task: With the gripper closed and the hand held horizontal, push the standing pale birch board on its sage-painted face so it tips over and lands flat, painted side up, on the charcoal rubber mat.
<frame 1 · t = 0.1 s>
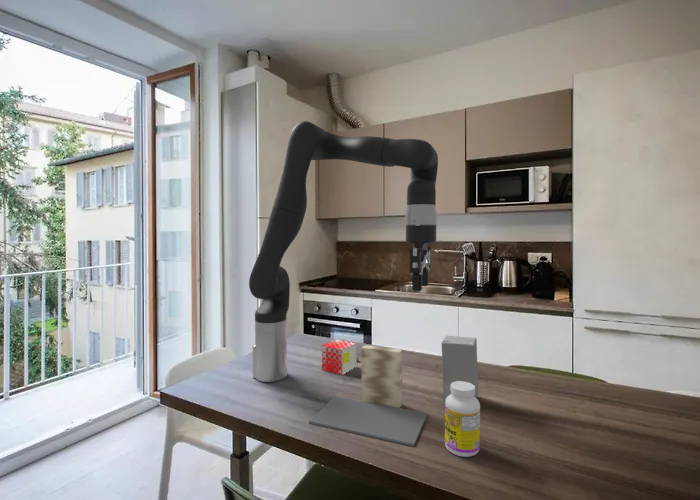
hand: (420, 288, 94), 29 cm above the table, tool pointing down, fingers open, 8 cm apart
skincare box: (459, 399, 97), on the table
shard: (348, 358, 131), on the table
board: (381, 403, 95), on the table
mat: (369, 419, 86), on the table
supplement bottle: (461, 449, 75), on the table
red white patterned cube: (339, 369, 119), on the table
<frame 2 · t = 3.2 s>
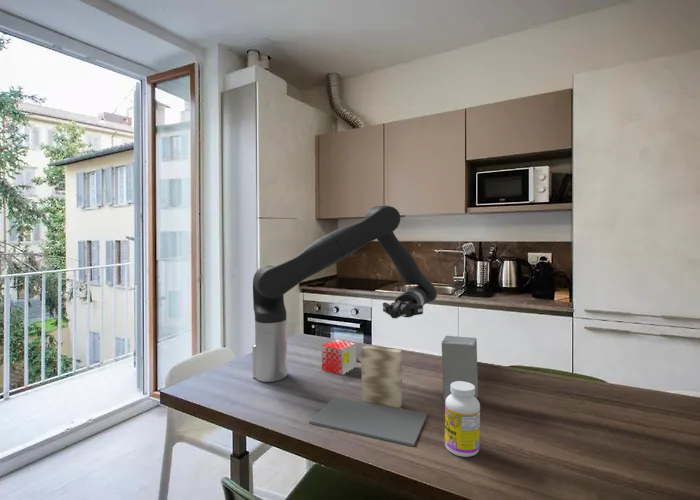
hand: (394, 314, 104), 20 cm above the table, tool horizontal, fingers closed
nothing on the table moved.
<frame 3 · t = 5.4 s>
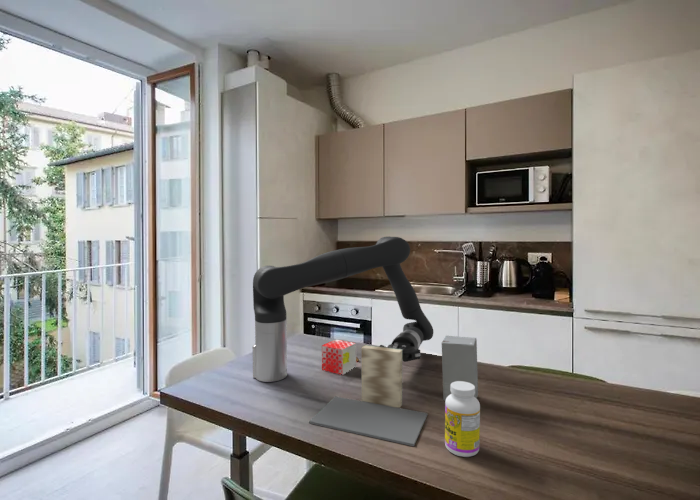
hand: (391, 361, 102), 8 cm above the table, tool horizontal, fingers closed
nothing on the table moved.
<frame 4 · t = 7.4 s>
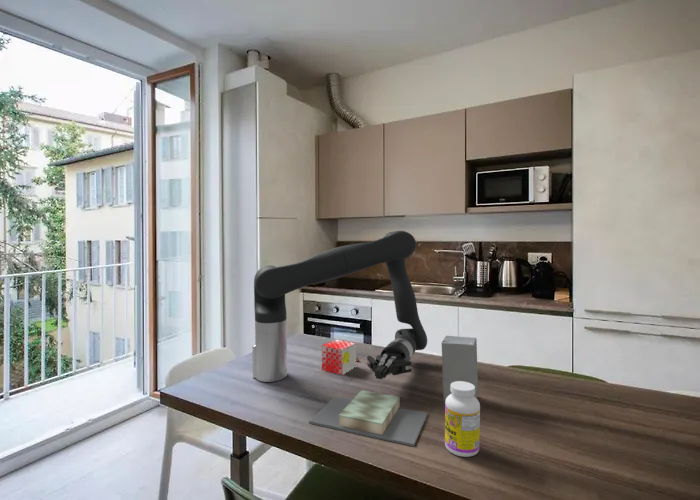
hand: (378, 375, 92), 8 cm above the table, tool horizontal, fingers closed
board: (380, 398, 94), point 2 cm above the table, tilted 90°, touching mat
everything else where it was.
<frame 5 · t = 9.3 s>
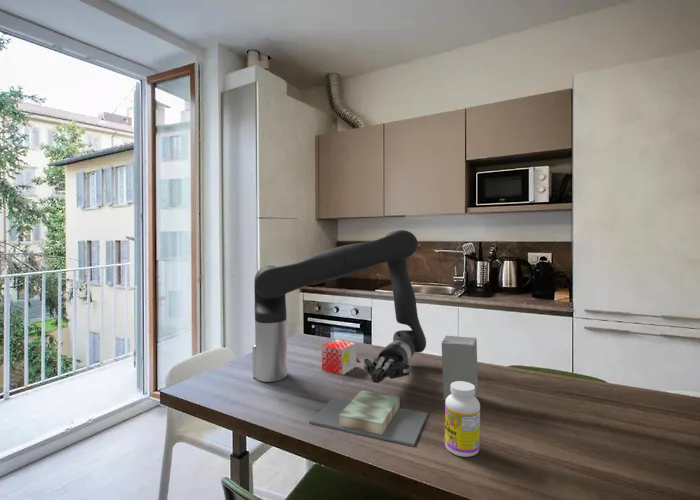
hand: (375, 378, 90), 8 cm above the table, tool horizontal, fingers closed
nothing on the table moved.
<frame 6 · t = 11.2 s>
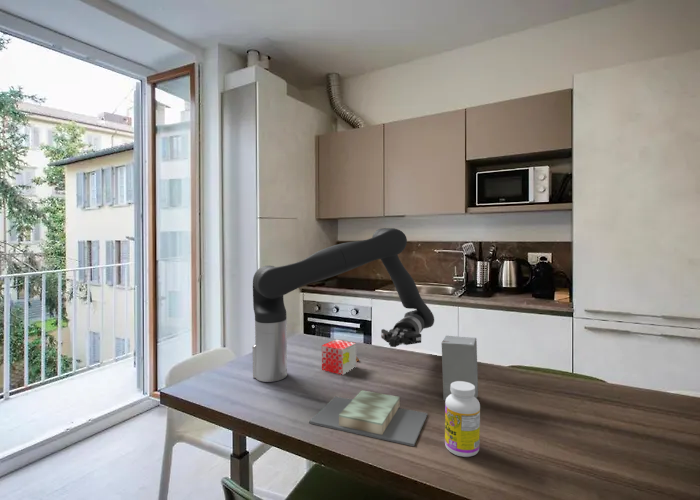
hand: (392, 343, 104), 12 cm above the table, tool horizontal, fingers closed
nothing on the table moved.
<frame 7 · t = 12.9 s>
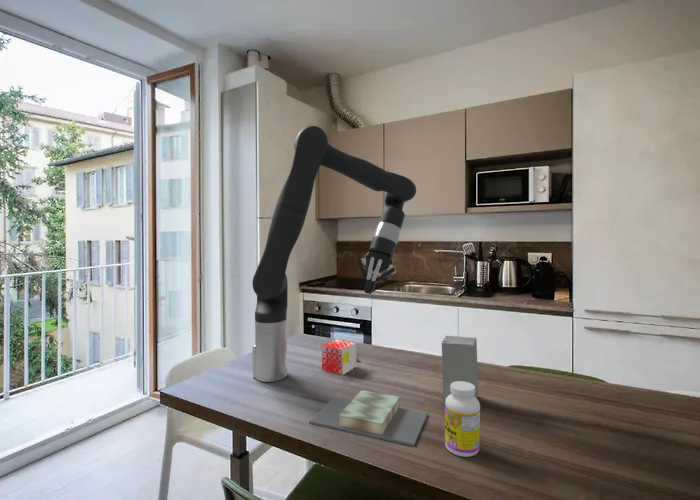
hand: (367, 293, 112), 25 cm above the table, tool tilted 25°, fingers closed
nothing on the table moved.
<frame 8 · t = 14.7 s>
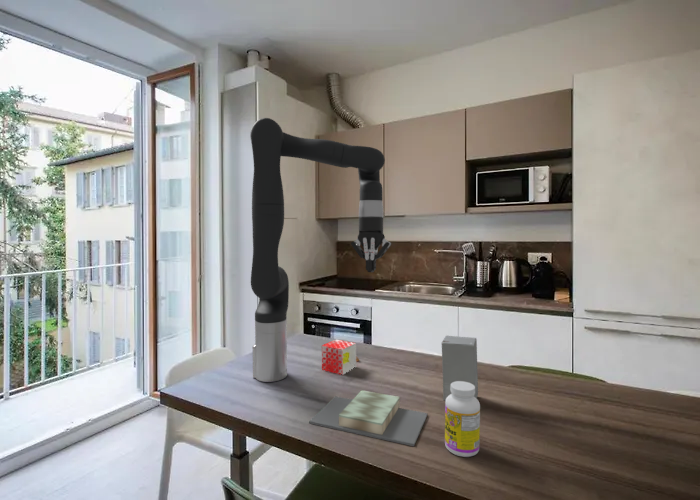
hand: (370, 272, 116), 31 cm above the table, tool pointing down, fingers closed
nothing on the table moved.
at the end: board tilted 90°; board inside the target area (3.4 cm from its centre), point 1.7 cm above the table; board touching mat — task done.
